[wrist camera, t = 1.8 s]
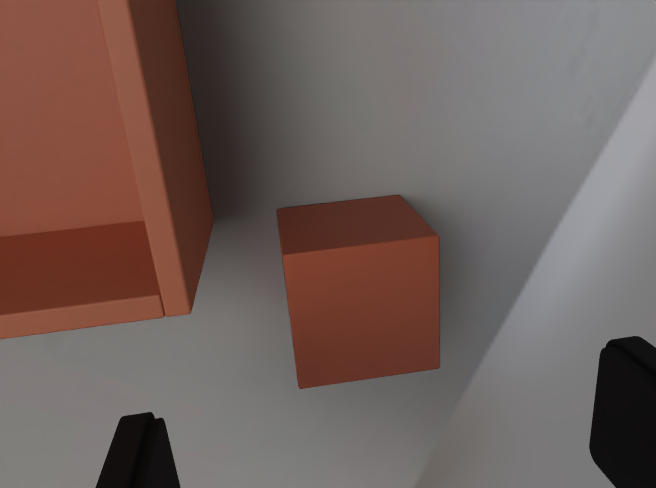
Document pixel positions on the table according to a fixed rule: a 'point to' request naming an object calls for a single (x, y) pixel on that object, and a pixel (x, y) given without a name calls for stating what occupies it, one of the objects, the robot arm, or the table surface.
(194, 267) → the terracotta bin
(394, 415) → the table surface
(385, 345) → the terracotta block
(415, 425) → the table surface
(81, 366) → the table surface
